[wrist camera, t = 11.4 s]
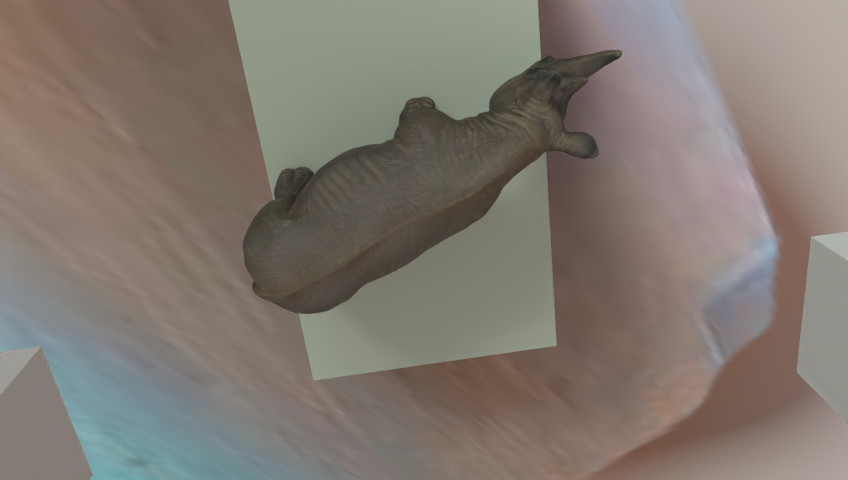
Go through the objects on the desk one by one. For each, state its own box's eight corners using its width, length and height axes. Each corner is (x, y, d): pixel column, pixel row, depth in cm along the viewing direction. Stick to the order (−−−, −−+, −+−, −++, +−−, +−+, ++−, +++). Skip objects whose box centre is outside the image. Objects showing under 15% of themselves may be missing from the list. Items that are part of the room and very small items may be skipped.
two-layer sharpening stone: (243, -98, 27) (202, -113, 21) (492, -131, 27) (529, -157, 21) (324, 299, 34) (313, 380, 28) (522, 271, 34) (556, 345, 28)
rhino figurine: (619, 98, 24) (691, 142, 19) (293, 284, 26) (272, 374, 21) (569, -8, 23) (632, 5, 17) (228, 198, 25) (186, 269, 19)
